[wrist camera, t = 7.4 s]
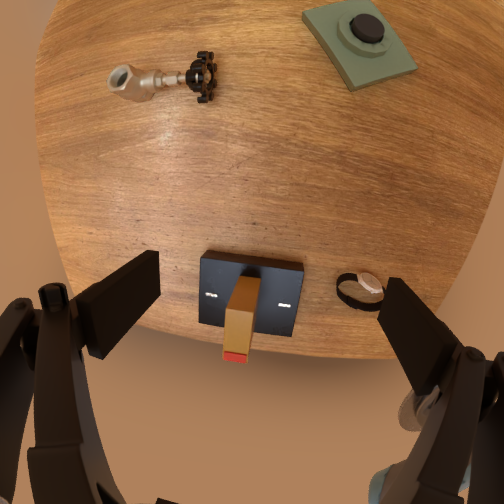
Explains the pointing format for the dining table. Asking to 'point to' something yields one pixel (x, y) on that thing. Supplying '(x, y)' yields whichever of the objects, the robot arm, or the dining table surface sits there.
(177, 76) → the valve
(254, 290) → the lock knob
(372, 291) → the watch
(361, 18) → the bell button
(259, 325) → the plate
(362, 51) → the doorbell
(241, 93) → the dining table surface
